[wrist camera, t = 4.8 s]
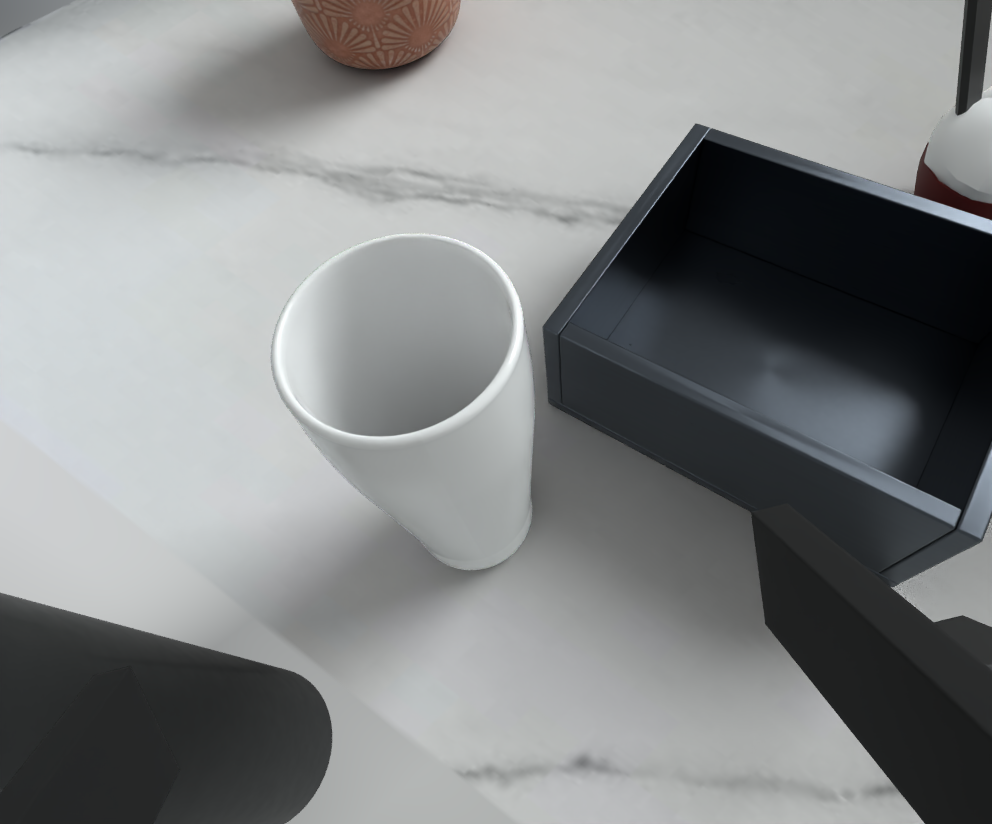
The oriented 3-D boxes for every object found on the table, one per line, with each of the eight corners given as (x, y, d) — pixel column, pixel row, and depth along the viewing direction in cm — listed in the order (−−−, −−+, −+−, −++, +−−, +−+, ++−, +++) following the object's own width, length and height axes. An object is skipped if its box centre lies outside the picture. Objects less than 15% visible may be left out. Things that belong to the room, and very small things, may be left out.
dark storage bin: (548, 403, 32) (541, 326, 26) (676, 222, 36) (695, 122, 30) (892, 588, 26) (983, 542, 20) (994, 346, 31) (1092, 252, 25)
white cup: (503, 618, 27) (435, 497, 14) (375, 546, 29) (211, 381, 16) (574, 485, 30) (573, 275, 16) (451, 427, 32) (362, 200, 19)
